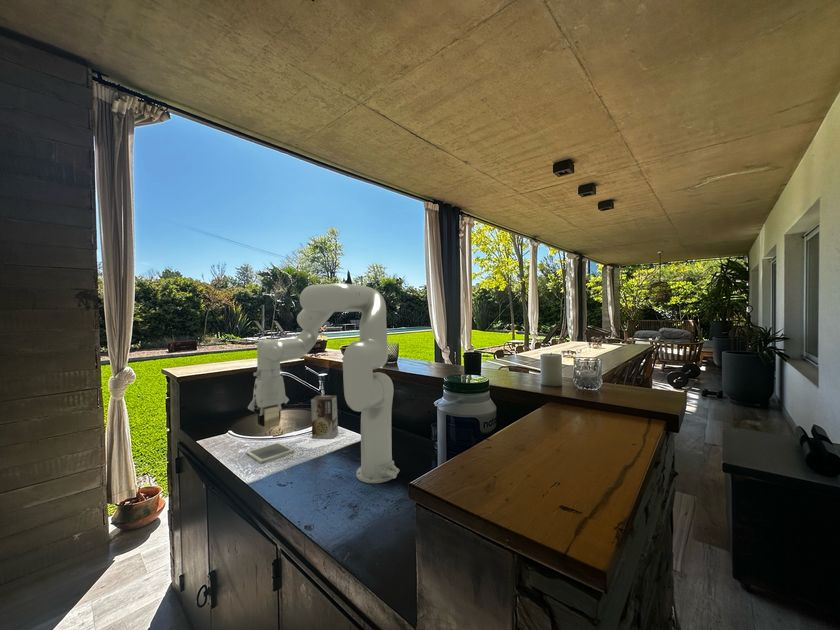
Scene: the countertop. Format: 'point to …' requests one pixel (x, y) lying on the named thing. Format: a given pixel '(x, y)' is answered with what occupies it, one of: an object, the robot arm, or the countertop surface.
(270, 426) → the block
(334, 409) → the coffee box
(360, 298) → the robot arm
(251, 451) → the mat
